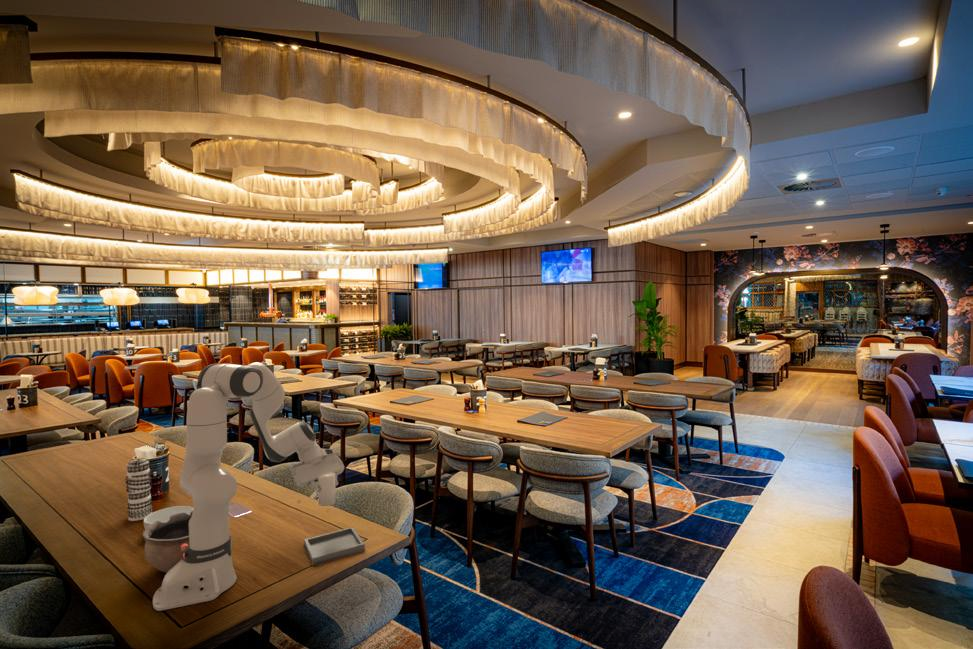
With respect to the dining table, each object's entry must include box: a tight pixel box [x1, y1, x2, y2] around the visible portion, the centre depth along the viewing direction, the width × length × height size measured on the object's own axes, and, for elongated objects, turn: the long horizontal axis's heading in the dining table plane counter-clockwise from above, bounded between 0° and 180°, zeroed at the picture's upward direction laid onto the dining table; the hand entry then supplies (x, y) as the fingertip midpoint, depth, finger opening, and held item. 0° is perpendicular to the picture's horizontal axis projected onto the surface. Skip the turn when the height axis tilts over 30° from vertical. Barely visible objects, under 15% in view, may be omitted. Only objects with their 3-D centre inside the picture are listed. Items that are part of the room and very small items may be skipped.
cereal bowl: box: [143, 505, 194, 530], centre depth 187 cm, size 17×17×7 cm
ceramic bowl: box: [142, 511, 193, 573], centre depth 161 cm, size 22×22×15 cm
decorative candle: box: [125, 457, 153, 522], centre depth 201 cm, size 9×9×25 cm
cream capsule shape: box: [317, 472, 337, 507], centre depth 182 cm, size 6×6×11 cm
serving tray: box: [303, 526, 366, 566], centre depth 171 cm, size 18×16×2 cm
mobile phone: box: [229, 502, 253, 519], centre depth 206 cm, size 8×1×15 cm
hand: (327, 488), depth 182 cm, fingers closed on cream capsule shape, 6 cm apart
